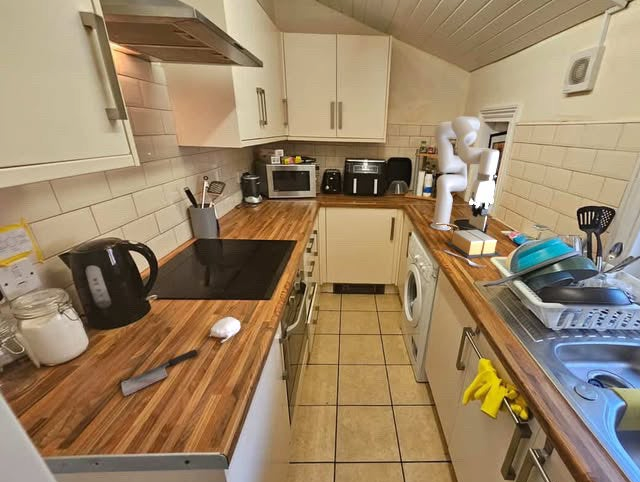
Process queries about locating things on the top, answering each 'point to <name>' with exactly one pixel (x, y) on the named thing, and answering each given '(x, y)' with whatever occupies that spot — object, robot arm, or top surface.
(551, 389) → the top surface
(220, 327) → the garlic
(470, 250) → the cake
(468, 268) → the top surface
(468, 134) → the robot arm
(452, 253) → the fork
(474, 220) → the knife
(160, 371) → the cleaver
